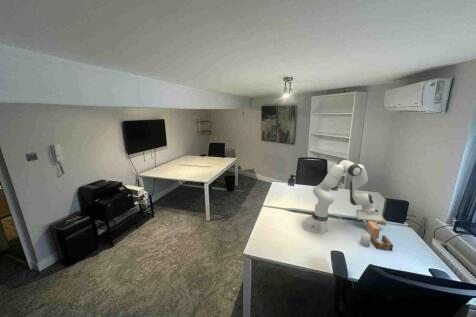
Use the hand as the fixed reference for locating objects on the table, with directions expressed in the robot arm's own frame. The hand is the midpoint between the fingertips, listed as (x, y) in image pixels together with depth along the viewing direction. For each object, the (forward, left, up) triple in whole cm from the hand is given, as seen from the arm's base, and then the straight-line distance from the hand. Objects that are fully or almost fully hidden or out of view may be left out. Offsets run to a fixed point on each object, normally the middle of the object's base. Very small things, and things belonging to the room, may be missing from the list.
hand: (370, 225), depth 169 cm
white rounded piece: (-12, -21, -5) cm, 25 cm away
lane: (0, -19, -5) cm, 20 cm away
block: (0, -4, -4) cm, 6 cm away
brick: (+15, +21, -6) cm, 26 cm away
